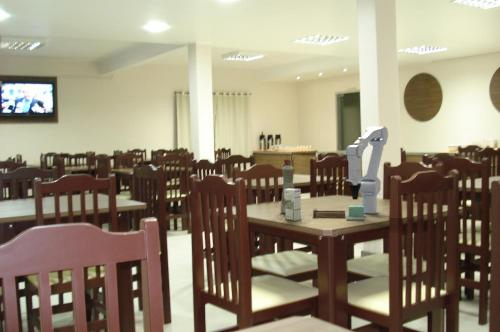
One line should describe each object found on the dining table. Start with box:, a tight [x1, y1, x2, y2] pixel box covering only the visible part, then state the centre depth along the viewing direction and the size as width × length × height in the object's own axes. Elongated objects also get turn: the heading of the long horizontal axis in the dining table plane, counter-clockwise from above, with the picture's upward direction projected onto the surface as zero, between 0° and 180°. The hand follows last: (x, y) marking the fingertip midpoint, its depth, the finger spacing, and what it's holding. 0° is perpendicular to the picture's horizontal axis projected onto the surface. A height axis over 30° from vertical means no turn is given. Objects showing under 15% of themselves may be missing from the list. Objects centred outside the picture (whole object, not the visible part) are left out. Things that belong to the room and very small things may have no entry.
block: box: [348, 205, 365, 218], centre depth 257 cm, size 4×7×5 cm, turn 80°
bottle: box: [280, 157, 295, 215], centre depth 273 cm, size 9×9×28 cm
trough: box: [312, 207, 346, 219], centre depth 259 cm, size 8×15×4 cm, turn 80°
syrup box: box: [284, 188, 302, 222], centre depth 251 cm, size 6×6×14 cm
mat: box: [345, 216, 365, 222], centre depth 249 cm, size 8×8×1 cm
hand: (354, 198), depth 257 cm, fingers open, 4 cm apart
